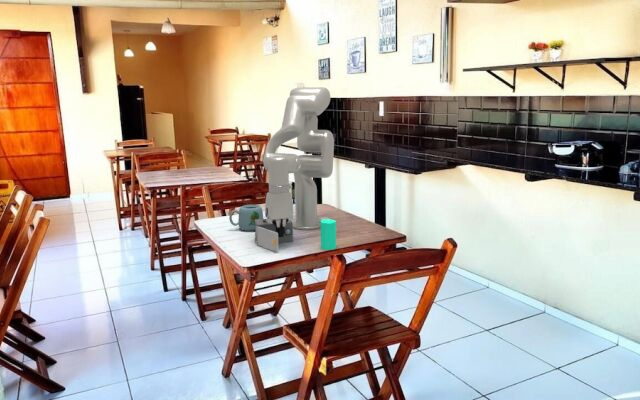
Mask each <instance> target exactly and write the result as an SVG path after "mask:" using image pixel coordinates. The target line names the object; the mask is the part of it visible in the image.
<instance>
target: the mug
mask: <svg viewBox="0 0 640 400" xmlns="http://www.w3.org/2000/svg"><path fill="white" fill-rule="evenodd" d="M263 212H264V211H263V207H262V206H260V205H258V204H245V205H242V206H240V207H239V209H238V210H237V209H232V210H231V211H230V213H229V221H230V224H231V225H232V226H233V227H236V226H238V228H239V229H241V230H242V231H245V232H252V231H253V232H255V219H264V213H263ZM233 213H236V214H238V219H237V222H236V223H235V222H234V221H233Z"/></svg>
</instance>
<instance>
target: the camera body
mask: <svg viewBox="0 0 640 400" xmlns="http://www.w3.org/2000/svg"><path fill="white" fill-rule="evenodd" d="M266 219H267V218H263V219H255V231H254V239H255V240H256V226H259V227H262V228H265V229H268V230H271V231H274V232H276V226H275V225H274V224H273V223H267V222H266ZM279 223H280V219H279ZM293 223H294V222H293V220H290V221H288V222H287V223H286V225H285V227H284V237H278V244H284V243H285V244H286V243H287V244H288V243H294V232H293V231H294V228H293Z"/></svg>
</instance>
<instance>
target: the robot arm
mask: <svg viewBox="0 0 640 400" xmlns="http://www.w3.org/2000/svg"><path fill="white" fill-rule="evenodd" d="M330 102H331V92H330V90H329V89H328V88H326V87H321V86H320V87H315V86H313V87H310V86H309V87H308V86H307V87H306V86H303V87H295V88H292V89H291V90H290V92H289V97H288V98H287V99H286V102H285V108H284V112H283V117H282V123H281V127H280V128H279V129H278V131H276V132H275V133H274V134H273V135H272V136H271V137H270V139H269V140H268V141H267V144H266V147H265V152H264V156H263V168H264V169H265V170H266V171H267V172H268V192H267V193H266V196H265V205H264V216H265V219H266V222H267V223H273V224H274V225H275V226H276V232H277V233H278V237H284V227H285V225H286V223H287V222H288V221H290V220H291V221H293V220H294V210H295V221H294V222H292V223H293V229H297V230H303V231H304V230H305V231H306V230H307V231H308V230H317V229H319V228H321V220H324V219H328V217H327V216H325V217H324V216H318V189H317V185H316V182H315V180H313V178H319V179H322V178H323V179H327V178H330V177H331V176H332V174H333V170H334V169H333V168H334V156H335V155H334V153H335V152H334V151H335V139H334V135H333V133H332V132H331V130H328V129H318V123H319V122H318V121H319V119H318V116H320V115H321V114H322V113H323V112H324V111H325V110H326V109H327V108H328V106H329V105H330ZM293 139H296V144H297V149H298V150H299V151H301V152H305V153H306V152H307V153H321V155H319V154H318V155H317V154H316V155H315V154H314V155H313V154H301V155H297V154H295V153H285V152H284V153H282V152H281V153H280V152H277V150H278V149H279V148H280V147H281V145H283V144H285V143H287V142H289V141H291V140H293ZM290 174H293V178H294V200H295V201H294V203H293V198H292V197H293V196H292V193H291V189H293V186H292V184H290V180H289V178H290ZM294 204H295V207H294ZM294 208H295V209H294ZM279 219H280V223H279Z"/></svg>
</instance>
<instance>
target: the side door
mask: <svg viewBox="0 0 640 400" xmlns="http://www.w3.org/2000/svg"><path fill="white" fill-rule="evenodd" d="M255 241H256V242H255V243H256V245H257V246H260V247H263V248H265V249H268V250H271V251H273V252H276V253H279V243H278V233H277V232H274V231H271V230H268V229H265V228H262V227H259V226H256V239H255Z"/></svg>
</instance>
